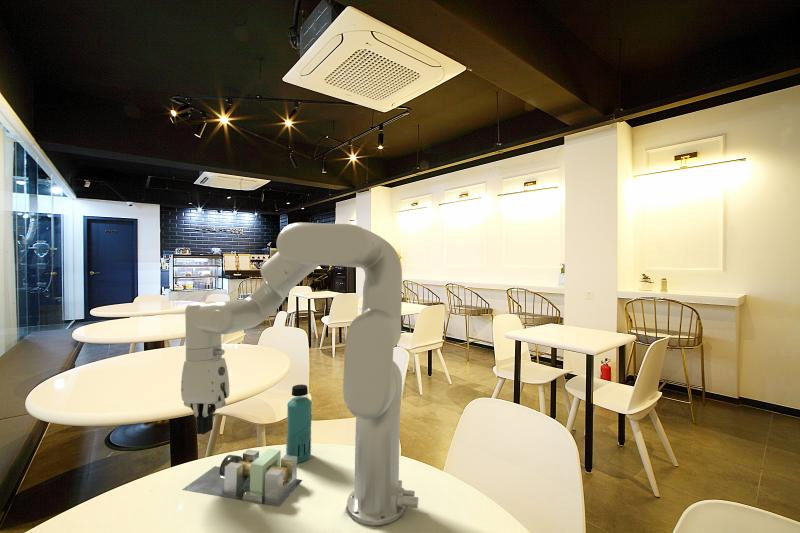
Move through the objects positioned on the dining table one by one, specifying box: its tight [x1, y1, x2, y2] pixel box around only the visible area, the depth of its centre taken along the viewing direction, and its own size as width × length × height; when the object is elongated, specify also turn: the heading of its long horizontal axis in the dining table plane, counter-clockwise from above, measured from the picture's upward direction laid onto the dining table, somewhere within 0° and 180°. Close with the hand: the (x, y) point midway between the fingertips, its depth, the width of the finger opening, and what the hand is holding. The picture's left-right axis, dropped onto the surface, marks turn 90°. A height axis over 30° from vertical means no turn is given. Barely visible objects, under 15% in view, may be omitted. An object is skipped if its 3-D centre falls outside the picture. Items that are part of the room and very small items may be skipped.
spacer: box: [250, 448, 282, 496], centre depth 80 cm, size 3×7×7 cm, turn 167°
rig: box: [182, 449, 303, 508], centre depth 81 cm, size 24×10×7 cm, turn 77°
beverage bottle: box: [285, 384, 313, 464], centre depth 94 cm, size 6×7×20 cm
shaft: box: [219, 454, 289, 483], centre depth 81 cm, size 15×5×5 cm, turn 77°
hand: (204, 431), depth 84 cm, fingers closed
